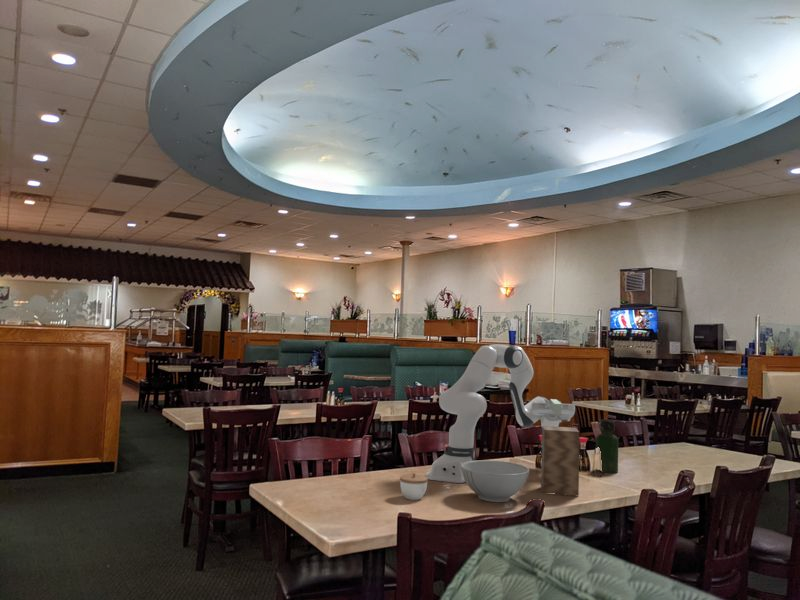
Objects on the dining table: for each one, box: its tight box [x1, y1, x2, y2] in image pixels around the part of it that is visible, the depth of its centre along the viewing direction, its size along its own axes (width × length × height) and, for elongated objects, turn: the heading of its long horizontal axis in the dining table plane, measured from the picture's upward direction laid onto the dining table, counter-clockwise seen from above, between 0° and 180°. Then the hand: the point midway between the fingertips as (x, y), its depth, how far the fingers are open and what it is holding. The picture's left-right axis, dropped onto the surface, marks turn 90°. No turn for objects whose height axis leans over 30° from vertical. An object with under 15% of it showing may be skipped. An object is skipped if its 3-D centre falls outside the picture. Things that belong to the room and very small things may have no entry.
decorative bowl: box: [461, 459, 530, 503], centre depth 241 cm, size 27×27×12 cm
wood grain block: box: [540, 426, 580, 496], centre depth 256 cm, size 14×12×26 cm
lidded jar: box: [399, 472, 429, 501], centre depth 237 cm, size 11×11×9 cm
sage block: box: [549, 398, 562, 413], centre depth 279 cm, size 3×21×4 cm, turn 171°
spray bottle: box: [595, 418, 619, 474], centre depth 302 cm, size 10×10×25 cm
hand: (554, 402), depth 286 cm, fingers closed on sage block, 3 cm apart
